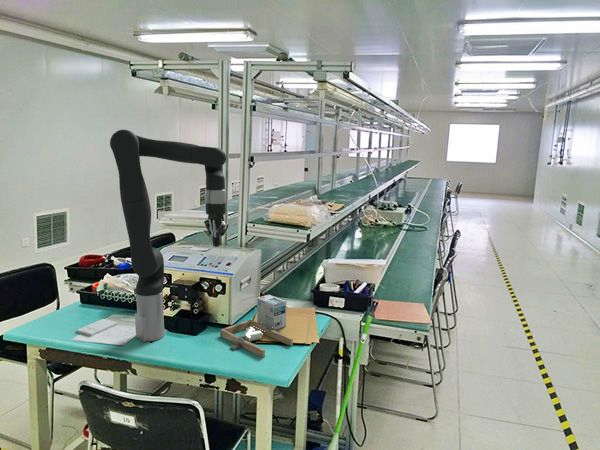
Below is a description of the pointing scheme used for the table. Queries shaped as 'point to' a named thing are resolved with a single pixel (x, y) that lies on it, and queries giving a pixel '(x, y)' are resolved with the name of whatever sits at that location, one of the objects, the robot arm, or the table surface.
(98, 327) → the external hard drive
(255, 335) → the pipe fitting
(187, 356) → the table surface
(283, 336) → the wooden frame
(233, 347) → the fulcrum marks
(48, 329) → the table surface
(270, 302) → the light bulb box
